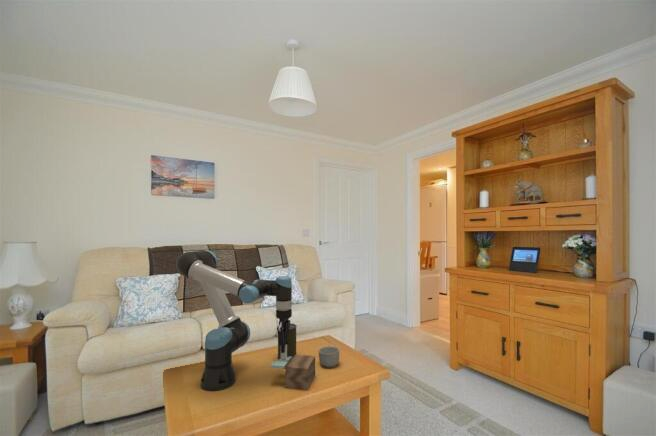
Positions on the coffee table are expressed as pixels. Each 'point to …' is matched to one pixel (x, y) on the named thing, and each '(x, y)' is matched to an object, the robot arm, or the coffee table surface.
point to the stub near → (279, 364)
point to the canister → (290, 342)
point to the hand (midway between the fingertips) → (283, 358)
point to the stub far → (286, 359)
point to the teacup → (329, 356)
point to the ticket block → (300, 372)
